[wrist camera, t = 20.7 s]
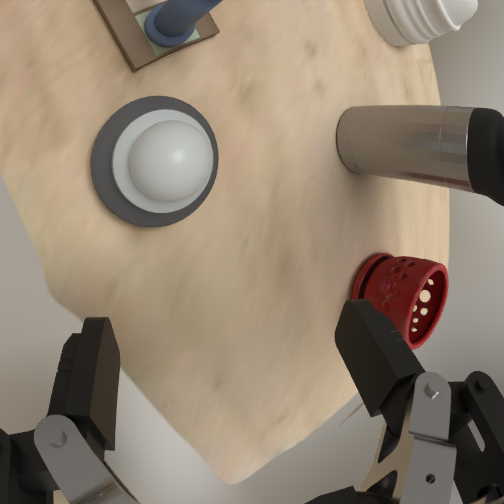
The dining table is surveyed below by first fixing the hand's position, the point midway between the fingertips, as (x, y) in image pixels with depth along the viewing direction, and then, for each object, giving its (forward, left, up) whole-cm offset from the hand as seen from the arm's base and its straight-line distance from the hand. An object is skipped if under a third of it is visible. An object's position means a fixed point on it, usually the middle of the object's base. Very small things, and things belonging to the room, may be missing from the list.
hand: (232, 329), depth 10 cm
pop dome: (-5, -3, -17) cm, 18 cm away
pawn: (-12, -14, -18) cm, 26 cm away
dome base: (-5, -3, -19) cm, 20 cm away
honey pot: (-50, -8, -20) cm, 54 cm away
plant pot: (-24, +30, -20) cm, 43 cm away
